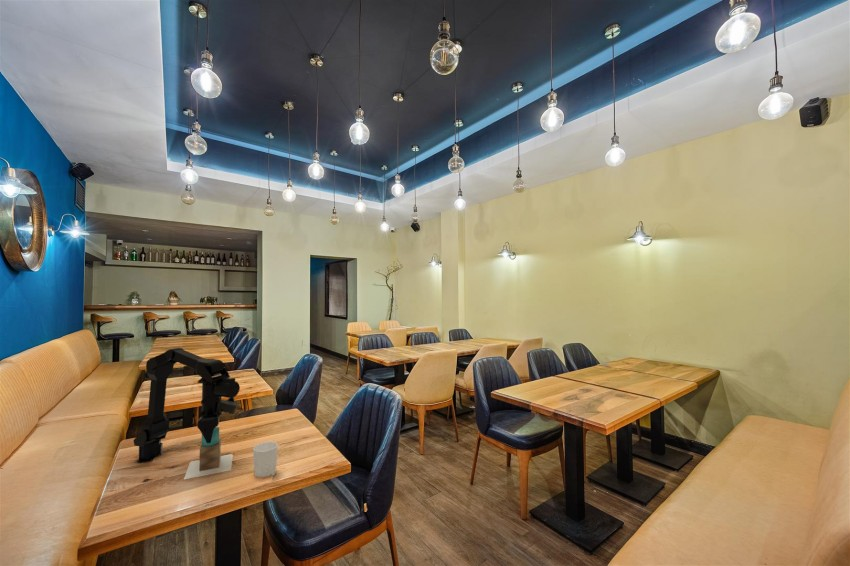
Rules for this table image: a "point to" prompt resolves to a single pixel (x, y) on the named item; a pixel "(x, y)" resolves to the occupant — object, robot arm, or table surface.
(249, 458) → the table surface
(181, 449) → the table surface
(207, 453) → the tower top
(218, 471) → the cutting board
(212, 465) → the block
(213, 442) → the teal cylinder
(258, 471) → the white cup
